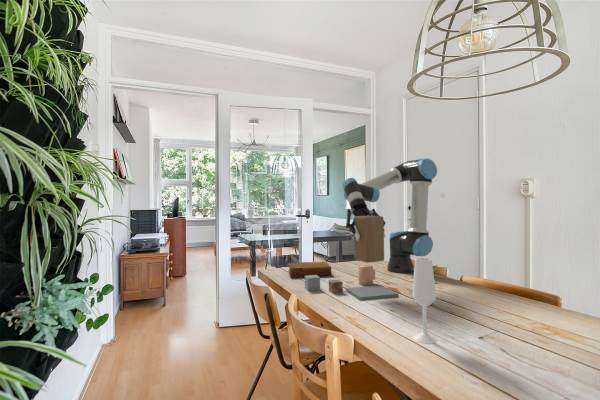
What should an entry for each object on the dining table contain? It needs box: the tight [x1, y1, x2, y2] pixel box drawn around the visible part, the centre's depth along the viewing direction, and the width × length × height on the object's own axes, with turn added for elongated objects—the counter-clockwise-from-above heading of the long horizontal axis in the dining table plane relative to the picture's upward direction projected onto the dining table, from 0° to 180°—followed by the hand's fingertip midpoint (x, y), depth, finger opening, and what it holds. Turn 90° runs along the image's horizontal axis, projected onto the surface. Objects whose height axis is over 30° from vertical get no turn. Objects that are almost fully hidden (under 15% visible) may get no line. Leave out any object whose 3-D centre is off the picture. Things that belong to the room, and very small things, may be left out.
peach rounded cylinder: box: [358, 264, 376, 287], centre depth 172 cm, size 8×7×9 cm
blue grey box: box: [304, 275, 321, 292], centre depth 164 cm, size 6×6×6 cm
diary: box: [287, 260, 332, 279], centre depth 199 cm, size 23×19×6 cm
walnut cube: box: [328, 279, 344, 294], centre depth 159 cm, size 5×5×5 cm
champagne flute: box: [412, 257, 438, 345], centre depth 103 cm, size 7×7×24 cm
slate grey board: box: [345, 284, 399, 301], centre depth 154 cm, size 18×16×1 cm
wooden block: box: [353, 215, 385, 264], centre depth 154 cm, size 10×10×20 cm
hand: (371, 238), depth 152 cm, fingers closed on wooden block, 11 cm apart
